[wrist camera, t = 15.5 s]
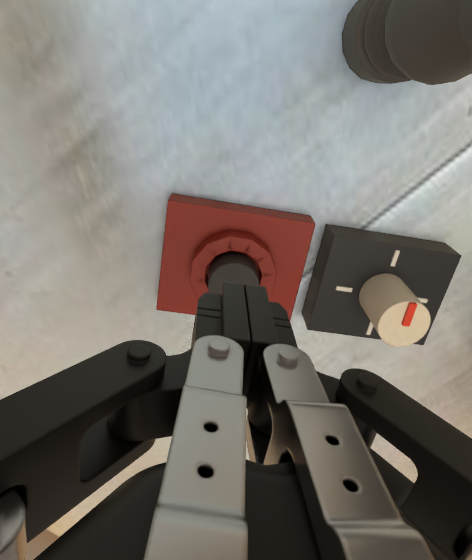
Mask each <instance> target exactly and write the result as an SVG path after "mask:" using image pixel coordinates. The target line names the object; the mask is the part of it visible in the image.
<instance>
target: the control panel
mask: <svg viewBox="0 0 472 560" xmlns="http://www.w3.org/2000/svg"><path fill="white" fill-rule="evenodd" d="M460 258H461V255H460V254H459V253H457V252H456V251H455V250H453V249H452V248H451V247H449V246H448V245H447V244H445V243H442V242H436V241H429V240H423V239H417V238H411V237H404V236H398V235H392V234H385V233H379V232H373V231H367V230H360V229H354V228H348V227H342V226H335V225H329V224H326V227H325V230H324V234H323V238H322V241H321V245H320V249H319V252H318V256H317V260H316V263H315V267H314V271H313V274H312V278H311V282H310V285H309V289H308V293H307V296H306V300H305V304H304V307H303V311H302V315H303V318H304V320H305V323H306V326H307V329H308V330H314V331H322V332H329V333H337V334H344V335H352V336H359V337H367V338H374V339H381V338H380V336H379V334H378V333H377V331H376V329H375V328H374V326H373V325H372V323H371V321H370V320H369V318H368V316H367V315H366V313H365V311H364V310H363V308H362V306H361V305H360V302H359V293H360V290H361V288H362V286H363V285H364V283H365V282H366V281H367V280H369V279H370V278H372V277H373V276H376V275H379V274H385V273H387V274H393V275H396V276H397V277H399V278H400V279H401V280H402V281H403V282H404V283H405V284H406V285H407V287H408V288H409V289H410V290H411V291H412V292H413V293H414V295H415V296H416V297H417V298H418V299H419V300H420V301H421V303H422V304H423V305H424V306H425V307H426V308H427V310H428V311H429V313H430V318H431V322H430V326H429V329H428V331H427V332H426V334H425V335H424V336H423V337H422V338H421V339H420V340H418V341H417V342H415V343H413V344H419V345H424V342H425V340H426V338H427V335H428V333H429V331H430V328H431V326H432V323H433V321H434V319H435V316H436V314H437V312H438V309H439V307H440V305H441V302H442V300H443V298H444V295H445V293H446V291H447V288H448V286H449V284H450V281H451V279H452V277H453V274H454V272H455V270H456V267H457V265H458V263H459V260H460Z"/></svg>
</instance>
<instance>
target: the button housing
mask: <svg viewBox="0 0 472 560" xmlns="http://www.w3.org/2000/svg"><path fill="white" fill-rule="evenodd" d="M314 228H315V222H314V221H313V219H312V218H311V216H308V215H302V214H296V213H290V212H283V211H277V210H271V209H265V208H259V207H252V206H246V205H240V204H234V203H227V202H221V201H215V200H209V199H203V198H196V197H190V196H184V195H178V194H171V195H170V197H169V200H168V205H167V215H166V224H165V234H164V243H163V252H162V262H161V271H160V281H159V290H158V300H157V310H162V311H170V312H177V313H185V314H192V315H196V310H197V304H198V299H199V298H200V297H201V296H202V295H203V294H204V293H205V292H207V293H209V290H208V277H209V270H210V267H211V265H212V264H213V262H214V261H215V260H216V259H218V258H219V257H221V256H223V255H226V254H230V253H236V254H241V255H244V256H246V257H248V258H249V259H250V260H251V261H252V262H253V263H254V265H255V266H256V269H257V273H258V278H259V286H264V287H266V290H267V294H268V299H269V301H271V302H278V303H280V304H281V305H282V307H283V308H284V309H285V310H286V311H287V313H288V316H289V322H290V319H291V316H292V312H293V308H294V304H295V300H296V296H297V293H298V289H299V285H300V281H301V277H302V273H303V270H304V266H305V262H306V258H307V254H308V251H309V247H310V243H311V239H312V235H313V231H314Z"/></svg>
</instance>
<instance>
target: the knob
mask: <svg viewBox="0 0 472 560" xmlns="http://www.w3.org/2000/svg"><path fill="white" fill-rule="evenodd" d="M359 302H360V305H361V306H362V308H363V310H364V311H365V313H366V315H367V316H368V318H369V320H370V321H371V323H372V325H373V326H374V328H375V329H376V331H377V333H378V334H379V336H380V338H381V339H382V340H383V341H384V342H385V343H387V344H389V345H392V346H398V347H401V346H407V345H411V344H413V343H415V342H417V341H418V340H420V339H421V338H422V337H423V336H424V335H425V334H426V332H427V331H428V329H429V326H430V322H431V318H430V313H429V311H428V310H427V308H426V307H425V306H424V305H423V304H422V303H421V301H420V300H419V299H418V298H417V297H416V296H415V295H414V293H413V292H412V291H411V290H410V289H409V288H408V287H407V285H406V284H405V283H404V282H403V281H402V280H401V279H400V278H399V277H397V276H396V275H393V274H387V273H385V274H379V275H376V276H373V277H372V278H370V279H369V280H367V281H366V282H365V283H364V285H363V286H362V288H361V290H360V293H359Z"/></svg>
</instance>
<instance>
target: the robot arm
mask: <svg viewBox="0 0 472 560" xmlns="http://www.w3.org/2000/svg"><path fill="white" fill-rule="evenodd" d="M246 408H247V409H248V415H247V419H246ZM377 433H378V434H379V435H381V436H382V437H383V438H384V439H386V440H387V441H388V442H390V443H391V444H392V445H393V446H395V447H396V448H397V449H399V450H400V451H401V452H402V453H404V454H405V455H406V456H408V457H409V458H410V459H411V460H412V461H413V463H414V464H415V466H416V468H417V471H418V477H417V480H416V482H415V483H413V482H412V481H410V480H409V479H408V478H407V477H405V476H404V475H403V474H402V473H400V472H399V471H398V470H397V469H395V468H394V467H393V466H392V465H391V464H389V463H388V462H387V461H386V460H384V459H383V458H382V457H381V456H380V455H378V454H377V453H376V452H375V451H373V450H372V449H371V448H370V447H371V445H372V443H373V440H374V438H375V436H376V434H377ZM169 436H172V440H171V444H170V448H169V453H168V457H167V462H166V463H162V464H158V465H155V466H152V467H149V468H147V469H145V470H143V471H141V472H139V473H137V474H135V475H134V476H132V477H131V478H129V479H128V480H127V481H125V482H124V483H123V484H121V485H120V486H119V487H118V488H117V489H116V490H114V491H113V492H112V493H111V494H110V495H109V496H107V497H106V498H105V499H104V500H103V501H102V502H100V503H99V504H98V505H97V506H96V507H95V508H93V509H92V510H91V511H90V512H89V513H88V514H86V515H85V516H84V517H83V518H82V519H81V520H79V521H78V522H77V523H76V524H75V525H74V526H72V527H71V528H70V529H69V530H68V531H66V532H65V533H64V534H63V535H62V536H61V537H59V538H58V539H57V540H56V541H55V542H54V543H52V544H51V545H50V546H49V547H48V548H47V549H46V550H44V551H43V552H42V553H41V554H40V555H38V556H37V557H36V558H35V559H34V560H472V439H471V438H470V437H468V436H467V435H465V434H464V433H462V432H461V431H459V430H458V429H456V428H455V427H454V426H452V425H451V424H449V423H448V422H446V421H445V420H443V419H442V418H440V417H439V416H437V415H436V414H434V413H433V412H431V411H430V410H428V409H427V408H425V407H424V406H422V405H421V404H419V403H418V402H417V401H415V400H414V399H412V398H411V397H409V396H408V395H406V394H405V393H403V392H402V391H400V390H399V389H397V388H396V387H394V386H393V385H391V384H390V383H388V382H387V381H385V380H384V379H383V378H381V377H379V376H378V375H376V374H374V373H372V372H369V371H366V370H363V369H348V370H346V371H344V372H343V373H342V375H341V378H340V379H337V378H334V377H331V376H328V375H325V374H322V373H320V372H318V371H316V370H315V368H314V365H313V363H312V361H311V359H310V357H309V356H308V355H307V354H306V353H305V352H303V351H302V350H300V349H298V347H297V344H296V340H295V337H294V333H293V330H292V329H291V323H290V322H289V316H288V313H287V311H286V310H285V309H284V308H283V307H282V305H281V304H280V303H278V302H271V301H269V299H268V294H267V290H266V287H264V286H257V285H250V284H244V285H243V283H236V282H229V281H223V280H222V282H221V286H220V291H219V294H214V293H207V292H205V293H204V294H203V295H202V296H201V297H200V298H199V299H198V304H197V310H196V317H195V323H194V329H193V335H192V344H191V349H190V350H188V351H187V352H185V353H182V354H178V355H172V356H166V353H165V352H164V350H163V349H162V348H161V347H160V346H158V345H156V344H154V343H152V342H148V341H143V340H132V341H126V342H123V343H121V344H118V345H116V346H114V347H112V348H110V349H108V350H106V351H103V352H101V353H99V354H97V355H95V356H93V357H91V358H89V359H86V360H84V361H82V362H80V363H78V364H76V365H74V366H71V367H69V368H67V369H65V370H63V371H61V372H59V373H57V374H54V375H52V376H50V377H48V378H46V379H44V380H42V381H40V382H37V383H35V384H33V385H31V386H29V387H27V388H25V389H23V390H20V391H18V392H16V393H14V394H12V395H10V396H8V397H5V398H3V399H1V400H0V560H25V557H26V553H27V543H28V542H29V541H31V540H32V539H33V538H35V537H36V536H37V535H39V534H40V533H41V532H43V531H44V530H45V529H46V528H48V527H49V526H50V525H52V524H53V523H54V522H56V521H57V520H58V519H59V518H61V517H62V516H63V515H65V514H66V513H67V512H69V511H70V510H71V509H73V508H74V507H75V506H76V505H78V504H79V503H80V502H82V501H83V500H84V499H86V498H87V497H88V496H89V495H91V494H92V493H93V492H95V491H96V490H97V489H99V488H100V487H101V486H103V485H104V484H105V483H106V482H108V481H109V480H110V479H112V478H113V477H114V476H116V475H117V474H118V473H119V472H121V471H122V470H123V469H125V468H126V467H127V466H129V465H130V464H131V463H133V462H134V461H135V460H136V459H138V458H139V457H140V456H142V455H143V454H144V453H146V452H147V451H148V450H149V449H150V448H151V447H152V446H153V444H154V442H155V439H157V438H163V437H169ZM246 442H247V447H248V453H249V459H250V461H249V460H246Z"/></svg>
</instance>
